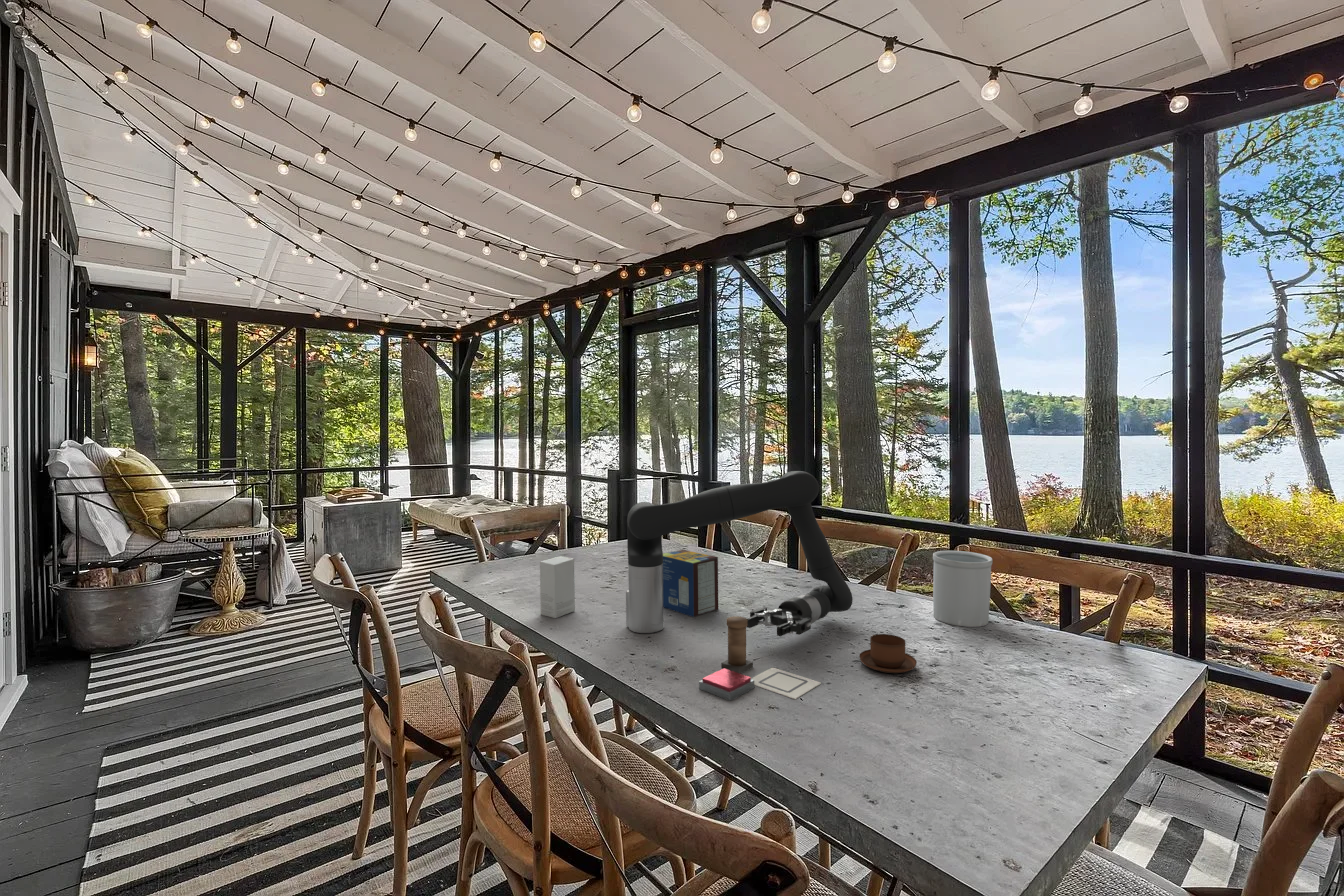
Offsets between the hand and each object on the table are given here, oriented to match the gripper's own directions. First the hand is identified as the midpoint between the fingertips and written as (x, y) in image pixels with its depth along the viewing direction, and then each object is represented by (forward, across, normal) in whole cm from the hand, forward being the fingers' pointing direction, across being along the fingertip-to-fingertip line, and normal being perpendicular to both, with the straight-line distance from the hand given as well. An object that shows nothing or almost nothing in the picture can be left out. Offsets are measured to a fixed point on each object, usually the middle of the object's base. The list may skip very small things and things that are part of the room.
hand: (762, 627), depth 143 cm
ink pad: (+20, +5, +6) cm, 21 cm away
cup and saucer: (-13, +24, +7) cm, 28 cm away
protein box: (-16, -38, +7) cm, 42 cm away
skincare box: (+13, -62, +7) cm, 64 cm away
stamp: (+10, 0, +6) cm, 12 cm away
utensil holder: (-58, +25, +7) cm, 64 cm away
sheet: (+10, +12, +6) cm, 17 cm away
